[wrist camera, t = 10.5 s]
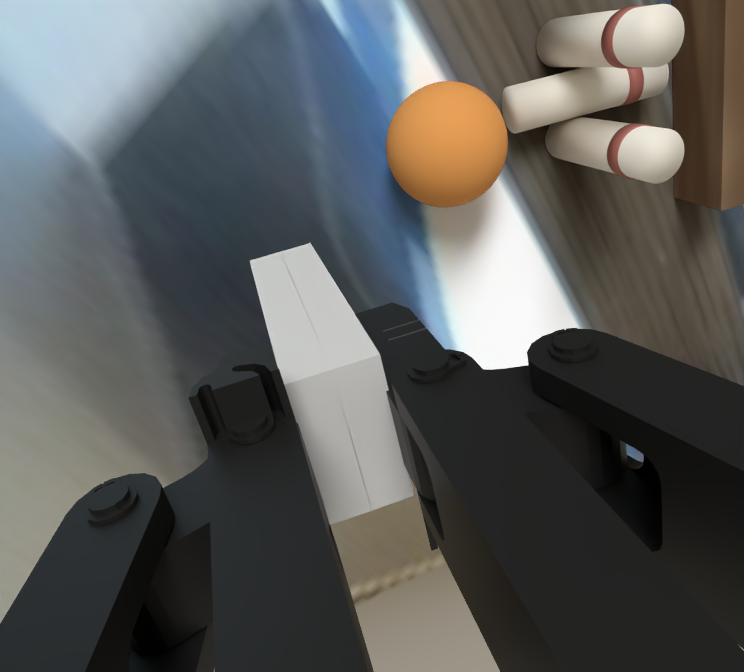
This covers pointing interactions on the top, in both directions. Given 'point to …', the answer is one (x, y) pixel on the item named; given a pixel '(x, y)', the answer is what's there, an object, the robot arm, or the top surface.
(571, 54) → the pin
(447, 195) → the orange ball
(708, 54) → the wall
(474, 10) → the top surface
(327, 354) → the robot arm
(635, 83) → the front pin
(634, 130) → the pin
